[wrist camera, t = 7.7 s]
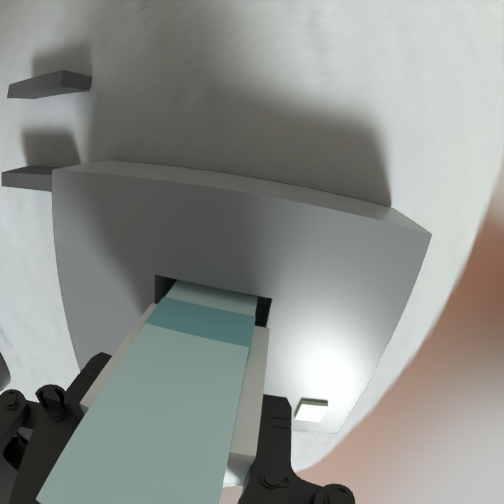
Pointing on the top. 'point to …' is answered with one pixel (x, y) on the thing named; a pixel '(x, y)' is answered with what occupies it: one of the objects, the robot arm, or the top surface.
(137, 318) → the port block
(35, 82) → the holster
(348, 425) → the top surface
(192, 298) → the plug
